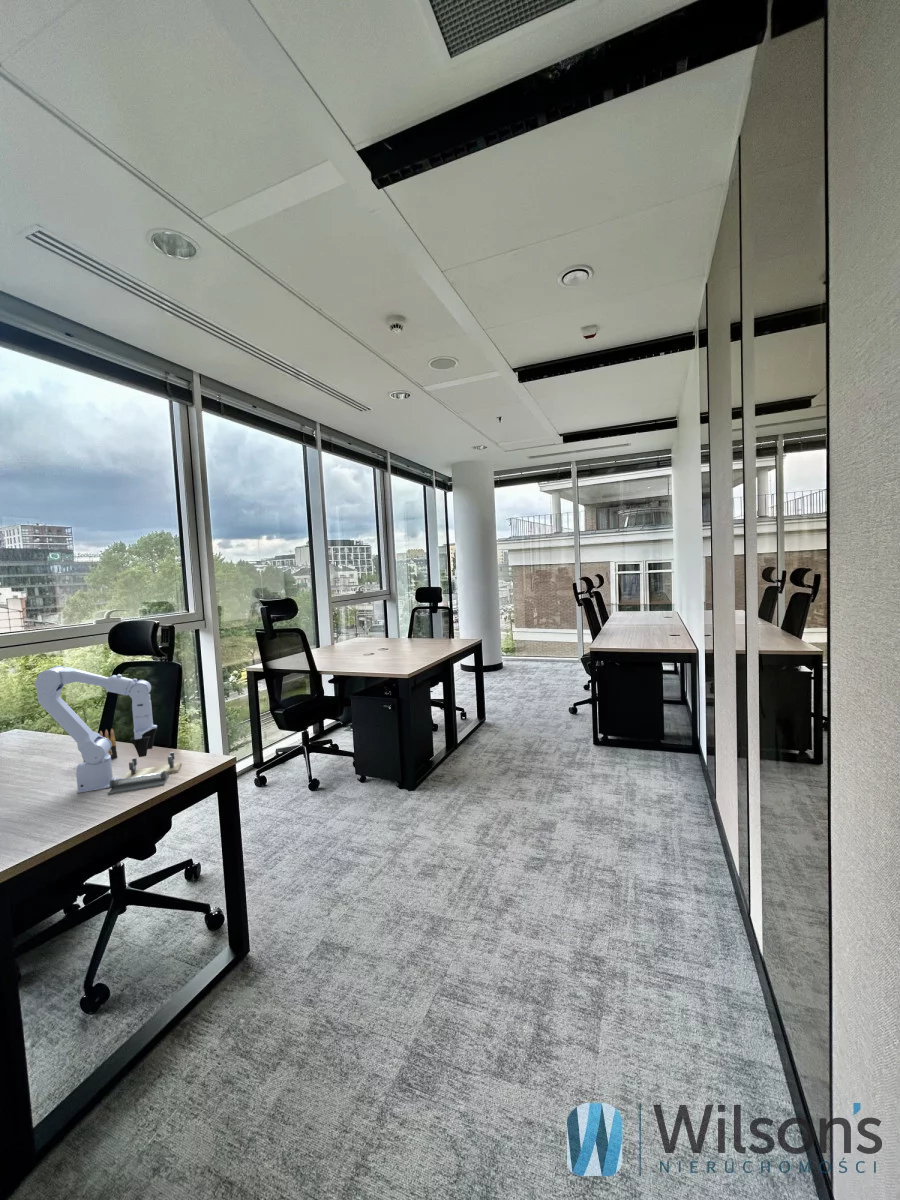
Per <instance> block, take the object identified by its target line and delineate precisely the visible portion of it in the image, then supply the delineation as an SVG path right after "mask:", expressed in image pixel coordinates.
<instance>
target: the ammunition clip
mask: <svg viewBox="0 0 900 1200" xmlns="http://www.w3.org/2000/svg"><path fill="white" fill-rule="evenodd" d="M99 734H100V735H101V736H102V737H104V738H107V739H109V740H110V741H111V744H112V746H111V749H110V751H109V752H108V753H109V754H110V755H111V760H114V759H117V758H118V752H117V743H116V737H115V732H114V729H113V728H111V729H110V735H109V731H108V729H107V728H106V729H105V731H104V735H103V731H102V730H100V731H99ZM84 762H85V761H84V760H83V763H84Z"/></svg>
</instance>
